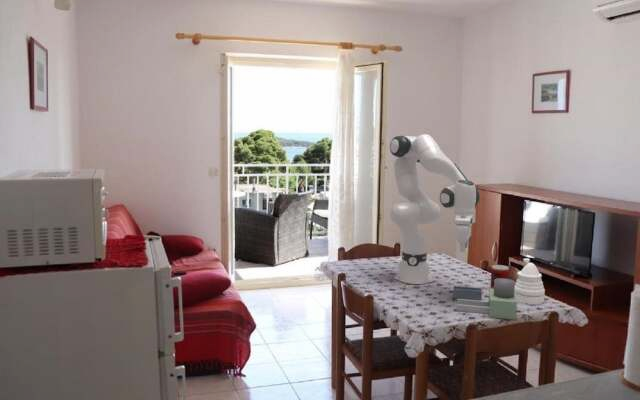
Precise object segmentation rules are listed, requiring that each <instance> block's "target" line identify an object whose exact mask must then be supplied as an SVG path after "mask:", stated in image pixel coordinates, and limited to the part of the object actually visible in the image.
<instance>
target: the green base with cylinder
mask: <svg viewBox="0 0 640 400" xmlns="http://www.w3.org/2000/svg"><path fill="white" fill-rule="evenodd" d="M515 284H516V281H515V280H513V279H511V278H510V279H509V278H508V279H505V278H498V279H495V280H494V289H491V287H490V288H489V290H488V292H489V293H488V301H487V300H486V301H485V300H481V301H478V300H466V299H457V300H456V305H455V307H456V308H455V311H456V312H465V313H475V314H486V315H488V317H489V318H496V319H503V320H505V319H506V320H517V309H518V308H517V307H518V306H517V305H518V303H517V301H516V296H515V292H514V290H515Z"/></svg>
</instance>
